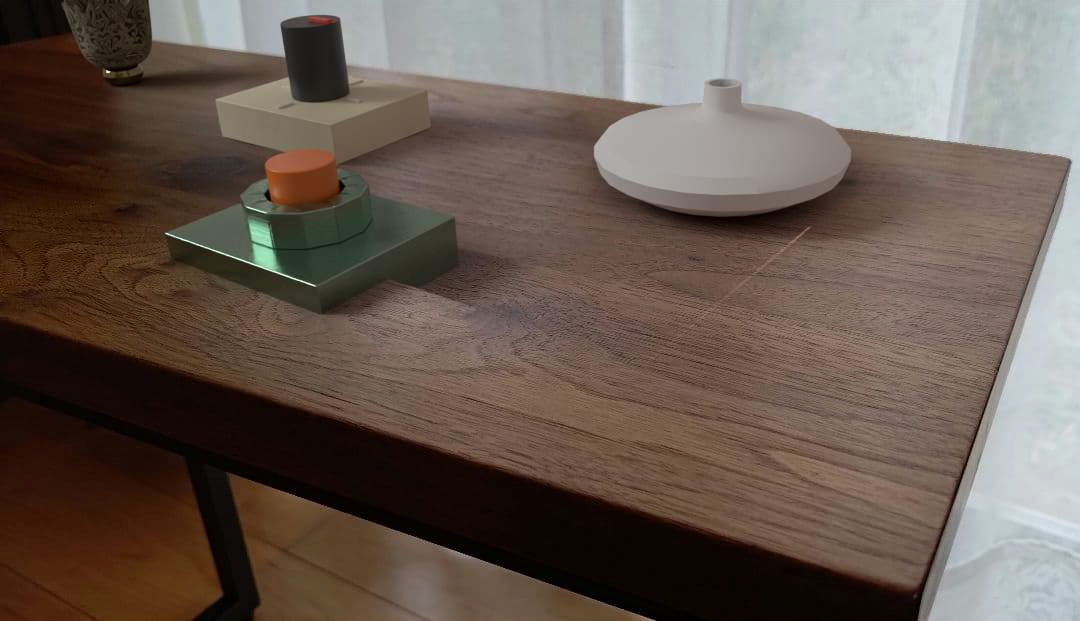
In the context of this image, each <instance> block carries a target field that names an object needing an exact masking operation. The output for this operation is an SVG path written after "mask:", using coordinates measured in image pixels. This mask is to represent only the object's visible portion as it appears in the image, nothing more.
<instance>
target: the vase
mask: <svg viewBox="0 0 1080 621" xmlns="http://www.w3.org/2000/svg"><path fill="white" fill-rule="evenodd" d="M742 84H743V82H741V81H740V80H738V79H734V78H728V77H727V78H724V77H722V78H721V77H719V78H711V79H708V80H706V81H705V82H704V84H703V96H702V99H703V100H702V102H693V103H692V102H691V103H684V104H683V103H682V104H675V105H674V104H673V105H665V106H660V107H656V108H651V109H646V110H642V111H638V112H636V113H633V114H630V115H628V116H625V117H622V118H621V119H619V120H617V121H616V122H614V123H612V124H611V125H609V126H608V128H607V129H606V130H605V131H604V133H602V135H601V136H600V138H599V139H598V140H597V142H596V143H595V144H594V145H593V157H594V160H595V163H596V166H597V169H598V171H599V174H600V176H601V177H602V178H603V179H604V180H605V181H606V183H607V184H608V185H609V186H610V187H612V188H614V189H615V190H618V191H619V192H621V193H623V194H625V195H627V196H629V197H631V198H634V199H637V200H640V201H642V202H644V203H647V204H649V205H653V206H654V207H658V208H661V209H665V210H668V211H671V212H676V213H681V214H686V215H692V216H702V217H703V216H704V217H717V218H720V217H721V218H722V217H746V216H747V217H748V216H753V215H760V214H762V215H763V214H767V213H771V212H775V211H779V210H782V209H786V208H789V207H791V206H792V207H793V206H795V205H798V204H801V203H804V202H808V201H811V200H814V199H816V198H818V197H819V196H822V195H824V194H826V193H827V192H830V191H831V190H833V189H834V188H835V187H836V186H837V185H838V184H839V183H840V182H841V181H842V179H843V178H844V176H845V174H846V173H847V170H848V168H849V166H850V164H851V160H852V149H851V147H850V146H849V145H848V143H847V142H846V140H845V139H844V138H843V137H842V135H841V134H840V133H839V131H838V130H837V129H836V127H834V126H833V125H831V124H830V123H828V122H826V121H824V120H822V119H821V118H819V117H815V116H812V115H809V114H807V113H803V112H801V111H796V110H792V109H787V108H782V107H777V106H771V105H762V104H755V103H743V102H742V86H743V85H742Z"/></svg>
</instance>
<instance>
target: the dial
mask: <svg viewBox="0 0 1080 621" xmlns="http://www.w3.org/2000/svg"><path fill="white" fill-rule="evenodd" d="M279 25H280V26H279V27H280V33H281V37H282V44H283V50H284V57H285V63H286V69H287V75H288V76H287V77H289V82H290V89H291V95H292V98H293V99H295V100H298V101H303V102H321V101H329V100H334V99H338V98H341V97H343V96H346V95H347V94H349V92H350V89H349V81H348V76H349V74H348V67H347V66H348V65H347V60H346V59H347V58H346V51H345V44H344V38H343V37H344V36H343V29H342V21H341V18H340V17H339V16H336V15H333V14H332V15H331V14H310V15H301V16H295V17H291V18H287V19H284V20H282V21H281V22H280V24H279Z"/></svg>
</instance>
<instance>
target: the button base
mask: <svg viewBox="0 0 1080 621" xmlns="http://www.w3.org/2000/svg"><path fill="white" fill-rule="evenodd" d="M337 174H338V181H339V188H340V193H339V194H338V195H335V196H333V197H331V198H328V199H326V200H324V201H319V202H314V203H308V204H303V205H281V204H278V203H274V202H272V201H271V197H270V191H269V186H268V180H267V177H265V178H263V179H260V180H258V181H256V182H253V183H252V184H250V185H249V187H247V188H246V189H245V190H244V191H243V192H242V193H241V194H240V203H237V204H234V205H231V206H229V207H227V208H224V209H222V210H219V211H216V212H214V213H212V214H209V215H206V216H204V217H202V218H199V219H196V220H194V221H191V222H189V223H186V224H184V225H182V226H180V227H176V228H174V229H172V230H169V231H167V232H165V233H164V235H165V239H166V244H167V249H168V252H169V256H170V259H171V260H173V261H176V262H178V263H181V264H184V265H186V266H189V267H191V268H194V269H197V270H200V271H202V272H205V273H208V274H210V275H212V276H216V277H218V278H220V279H222V280H223V279H224V280H227V281H229V282H232V283H234V284H237V285H240V286H242V287H245V288H248V289H250V290H252V291H255V292H259V293H261V294H264V295H266V296H269V297H272V298H273V299H274V298H275V299H277V300H280V301H283V302H285V303H287V304H291V305H294V306H295V307H298V308H300V309H304V310H306V311H308V312H309V311H310V312H312V313H315V314H317V315H323V314H325V313H327V312H329V311H331V310H333V309H335V308H336V307H338V306H340V305H342V304H344V303H346V302H348V301H349V300H352V299H353V298H355V297H357V296H359V295H361V294H362V293H364V292H367V291H368V290H370V289H372V288H373V287H376V286H377V285H379V284H382V283H383V282H384V281H387V280H390V281H393V282H396V283H400V284H401V285H406V286H409V287H412V288H414V289H419V288H421V287H423V286H425V285H427V284H429V283H430V282H433V281H434V280H436V279H438V278H439V277H441V276H443V275H444V274H446V273H448V272H451V271H452V270H454V269H455V268H457V267H459V266H460V260H459V248H458V236H457V227H456V226H457V225H456V216H455V215H451V214H447V213H444V212H440V211H437V210H432V209H429V208H425V207H421V206H418V205H414V204H410V203H407V202H402V201H399V200H395V199H391V198H387V197H383V196H381V195H377V194H372V193H371V192H370V185H369V183H368V181H367V180H366V179H365V178H364V177H363V175H362V174H361V173H358V172H353V171H350V170H347V169H343V168H337ZM453 268H454V269H453Z"/></svg>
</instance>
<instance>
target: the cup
mask: <svg viewBox="0 0 1080 621" xmlns="http://www.w3.org/2000/svg"><path fill="white" fill-rule="evenodd" d="M61 6H62V9H63V10H64V13H65V16H66V19H67V20H68V24H69V26H70V29H71V32H72V35H73V36H74V39H75V42H76V44H77V46H78V48H79V50H80V52H81V54H82V55H83V57H84V58H85V59H86V60H87V61H88V62H89V63H90V64H92V65H93V66H95V67H97V68H100V69H102V73H101V74H102V75H101V76H102V79H103V80H104V81H105V83H107V84H109V85H112V86H127V85H133V84H135V83H136V84H137V83H138V82H140V81H141V80H142V79H143V78H144V74H145V70H144V68H143V66H142V65H141V63H143V62H144V61H146V60H147V58H148V57H149V55H150V54H151V51H152V47H153V29H152V18H151V8H150V0H63V1H61Z"/></svg>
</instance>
